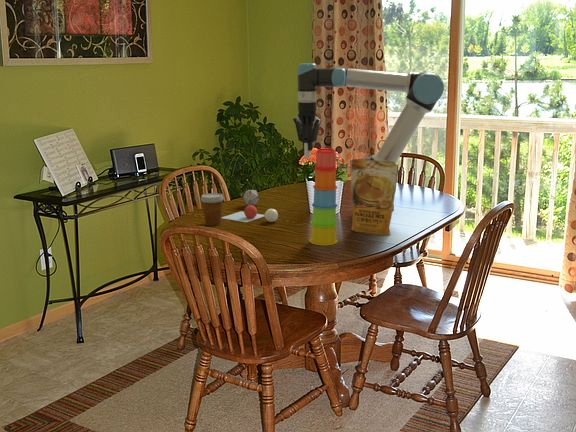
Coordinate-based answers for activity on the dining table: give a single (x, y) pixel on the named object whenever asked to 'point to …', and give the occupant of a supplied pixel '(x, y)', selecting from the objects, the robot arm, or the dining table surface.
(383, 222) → the pancake mix bag
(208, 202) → the disposable coffee cup
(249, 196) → the game die
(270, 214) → the cue ball
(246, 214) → the red ball
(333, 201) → the stacking cups
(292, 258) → the dining table surface
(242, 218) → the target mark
